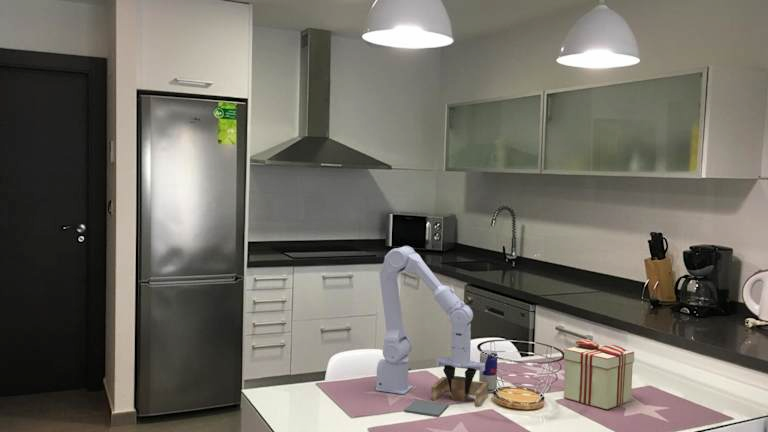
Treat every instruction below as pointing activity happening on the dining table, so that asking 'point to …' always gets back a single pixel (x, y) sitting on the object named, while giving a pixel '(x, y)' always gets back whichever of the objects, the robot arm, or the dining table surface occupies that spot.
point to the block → (458, 389)
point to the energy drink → (489, 369)
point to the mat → (426, 408)
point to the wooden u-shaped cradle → (475, 389)
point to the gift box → (598, 374)
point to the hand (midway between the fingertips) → (459, 392)
